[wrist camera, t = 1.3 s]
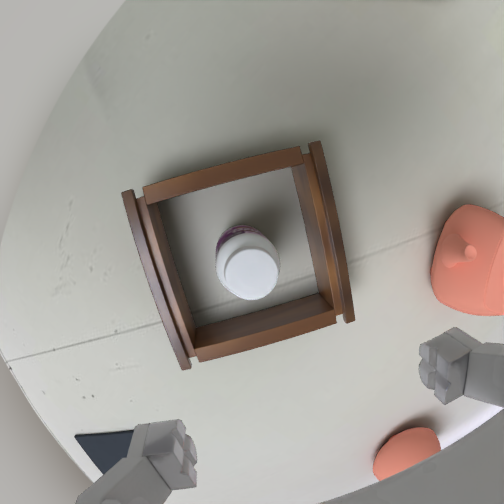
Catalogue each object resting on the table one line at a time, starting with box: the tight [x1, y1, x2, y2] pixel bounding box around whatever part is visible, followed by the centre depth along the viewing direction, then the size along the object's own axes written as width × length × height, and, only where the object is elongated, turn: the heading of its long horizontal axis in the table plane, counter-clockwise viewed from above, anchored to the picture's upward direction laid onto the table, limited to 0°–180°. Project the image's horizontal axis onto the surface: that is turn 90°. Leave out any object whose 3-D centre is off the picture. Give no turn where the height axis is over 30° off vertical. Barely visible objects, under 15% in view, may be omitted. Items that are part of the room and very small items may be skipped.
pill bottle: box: [216, 225, 280, 300], centre depth 28 cm, size 5×5×10 cm
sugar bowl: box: [373, 427, 441, 481], centre depth 38 cm, size 12×14×10 cm
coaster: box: [75, 430, 134, 475], centre depth 37 cm, size 12×12×1 cm
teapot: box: [430, 204, 504, 316], centre depth 30 cm, size 13×20×12 cm, turn 74°
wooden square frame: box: [121, 141, 355, 370], centre depth 30 cm, size 17×18×6 cm
